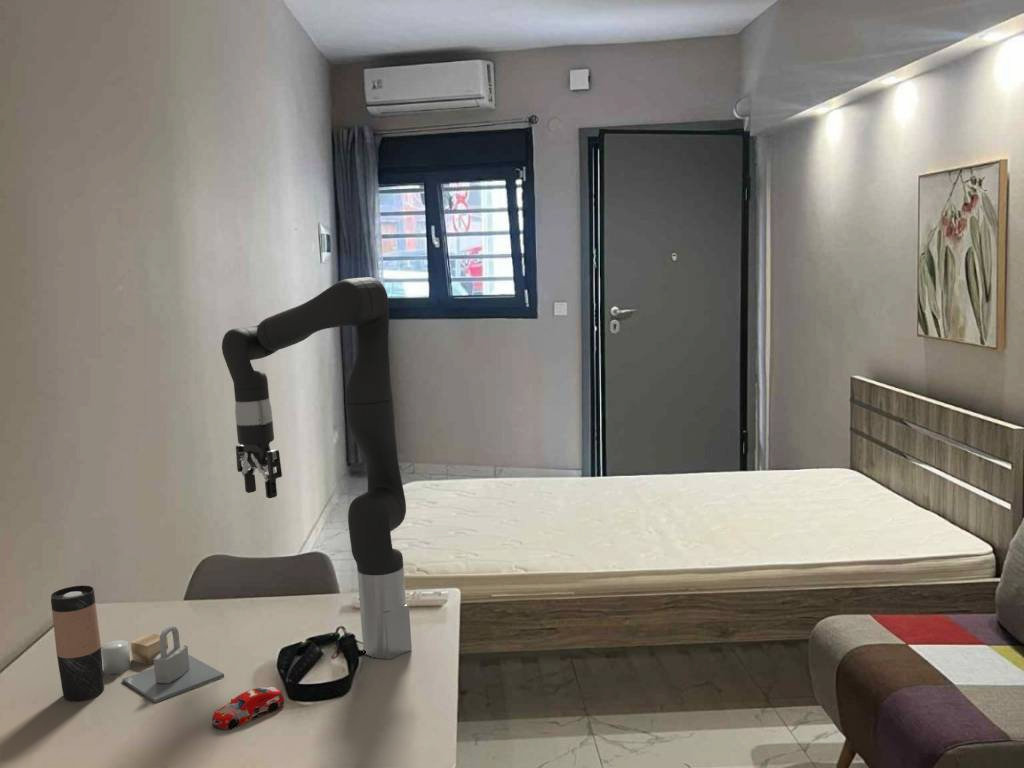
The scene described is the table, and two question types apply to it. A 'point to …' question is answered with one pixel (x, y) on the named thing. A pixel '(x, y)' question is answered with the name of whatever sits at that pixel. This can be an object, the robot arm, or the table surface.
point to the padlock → (171, 658)
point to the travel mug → (77, 642)
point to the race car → (248, 707)
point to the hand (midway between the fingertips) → (261, 494)
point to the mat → (189, 680)
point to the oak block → (146, 648)
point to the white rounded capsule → (115, 657)
